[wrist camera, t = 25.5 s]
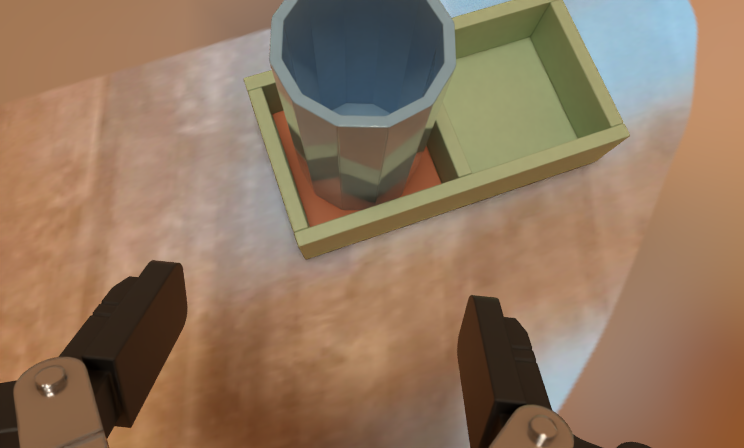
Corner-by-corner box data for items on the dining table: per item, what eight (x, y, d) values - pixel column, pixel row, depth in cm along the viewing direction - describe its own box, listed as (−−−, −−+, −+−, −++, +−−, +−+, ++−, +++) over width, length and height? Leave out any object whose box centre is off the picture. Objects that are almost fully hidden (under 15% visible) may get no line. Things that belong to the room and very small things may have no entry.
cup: (379, 231, 25) (398, 161, 15) (278, 173, 25) (233, 68, 16) (436, 136, 26) (487, 15, 16) (339, 82, 27) (332, -67, 17)
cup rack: (595, 161, 27) (631, 135, 24) (305, 259, 25) (298, 247, 22) (532, 28, 29) (556, -14, 25) (256, 111, 27) (243, 77, 23)
